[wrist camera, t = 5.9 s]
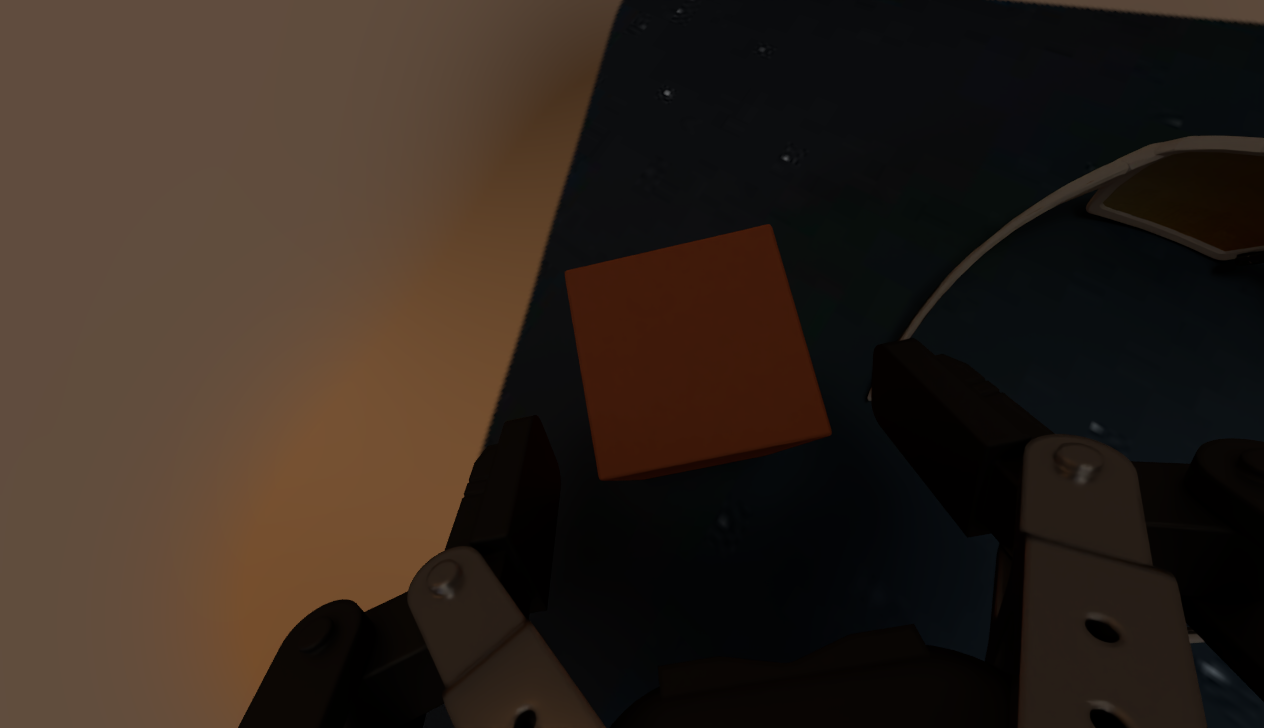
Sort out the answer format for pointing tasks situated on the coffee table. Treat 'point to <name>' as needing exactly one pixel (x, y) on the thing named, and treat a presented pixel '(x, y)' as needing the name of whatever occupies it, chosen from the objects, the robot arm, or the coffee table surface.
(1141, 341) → the coffee table surface
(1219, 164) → the sunglasses
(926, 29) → the coffee table surface
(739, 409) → the post
